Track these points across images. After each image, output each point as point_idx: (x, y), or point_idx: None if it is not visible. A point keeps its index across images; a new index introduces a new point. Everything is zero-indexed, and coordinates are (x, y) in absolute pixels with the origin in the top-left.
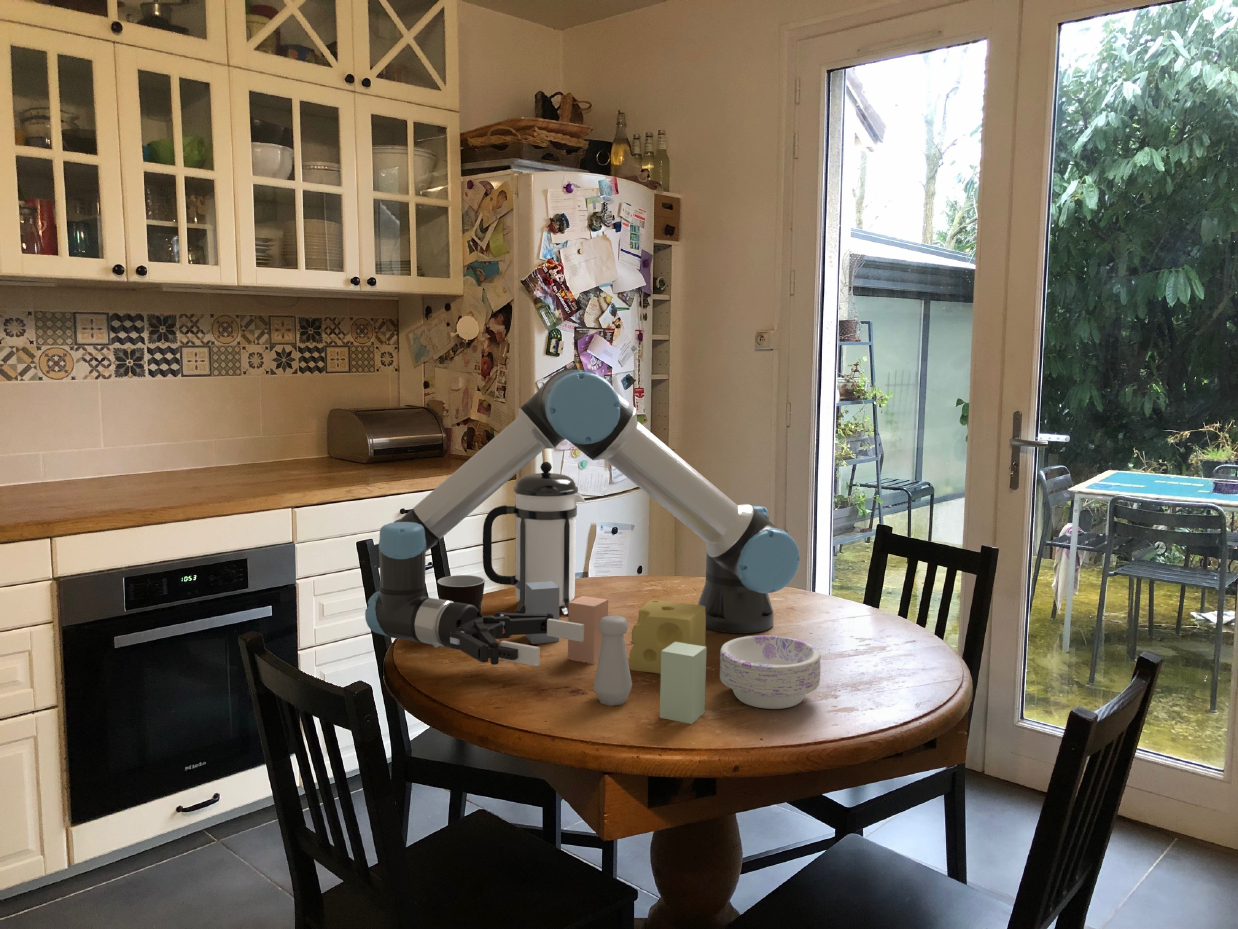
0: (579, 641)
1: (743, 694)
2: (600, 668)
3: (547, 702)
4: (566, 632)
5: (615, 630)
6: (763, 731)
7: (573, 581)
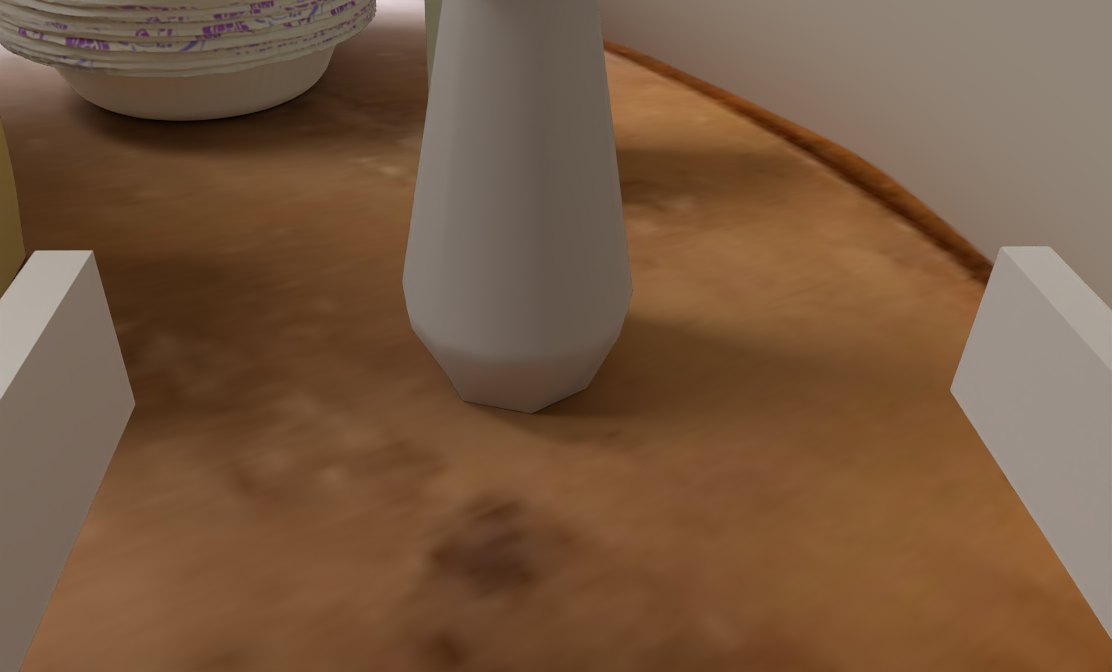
0: None
1: (323, 51)
2: (612, 197)
3: (795, 605)
4: (52, 480)
5: None
6: None
7: None
